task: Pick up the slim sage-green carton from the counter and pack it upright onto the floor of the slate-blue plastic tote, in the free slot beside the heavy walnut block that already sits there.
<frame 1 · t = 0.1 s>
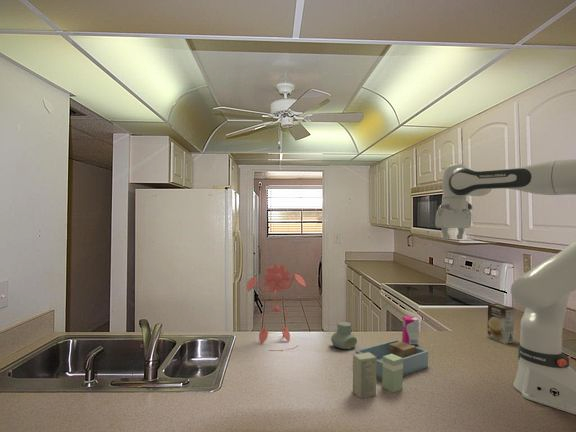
hand: (453, 239, 138), 48 cm above the counter, fingers open, 8 cm apart
skincare box: (364, 394, 109), on the counter
air freshener: (343, 347, 148), on the counter
figurine: (275, 344, 149), on the counter
supplement box: (410, 343, 154), on the counter
coffee box: (499, 340, 161), on the counter
tote: (391, 366, 129), on the counter
walnut block: (402, 360, 133), point 1 cm above the counter, touching tote
carton: (392, 387, 113), on the counter
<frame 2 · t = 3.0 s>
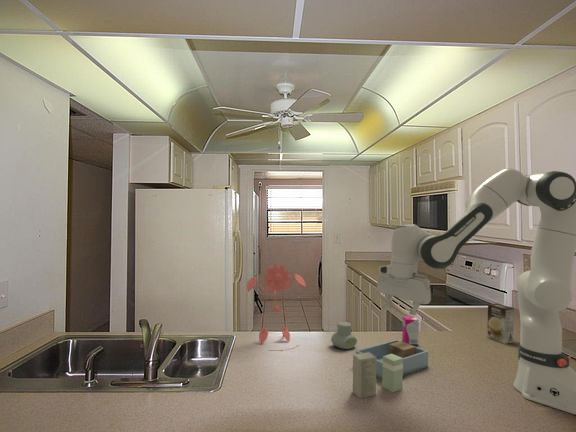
hand: (401, 310, 119), 24 cm above the counter, fingers open, 8 cm apart
nothing on the counter moved.
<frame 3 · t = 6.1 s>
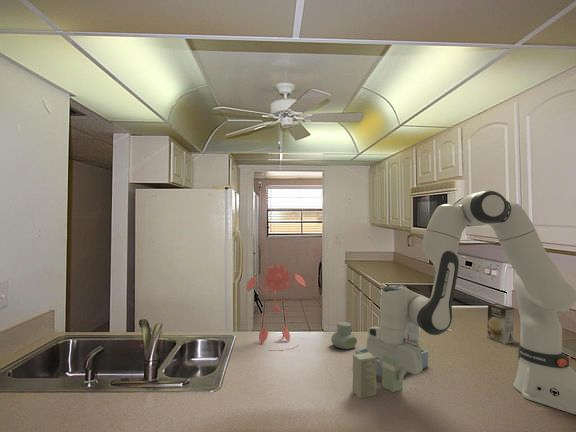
hand: (392, 376, 113), 4 cm above the counter, fingers closed on carton, 4 cm apart
carton: (392, 387, 113), on the counter, touching gripper
everything else where it was.
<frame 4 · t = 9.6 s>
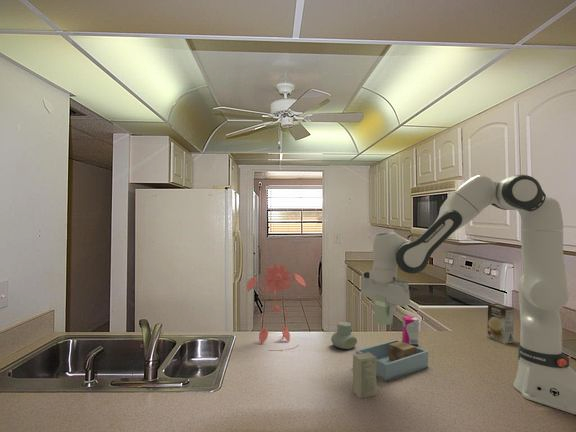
hand: (383, 313, 127), 21 cm above the counter, fingers closed on carton, 4 cm apart
carton: (383, 323, 127), point 17 cm above the counter, touching gripper
everything else where it was.
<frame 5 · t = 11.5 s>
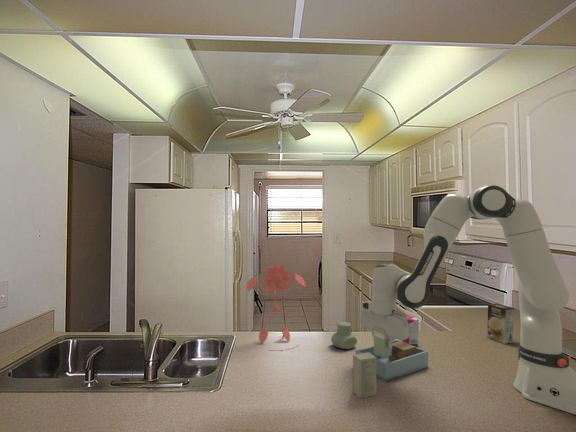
hand: (382, 344, 127), 9 cm above the counter, fingers closed on carton, 4 cm apart
carton: (382, 354, 127), point 5 cm above the counter, touching gripper
everything else where it was.
when the fingers open (6 cm above the counter, at t = 13.1 s): carton drops 1 cm, resting on tote.
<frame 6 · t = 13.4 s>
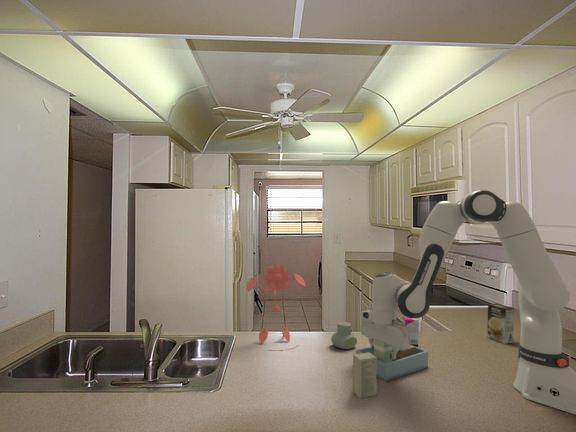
hand: (383, 354, 127), 6 cm above the counter, fingers open, 8 cm apart
carton: (382, 367, 127), point 1 cm above the counter, touching tote
everything else where it was.
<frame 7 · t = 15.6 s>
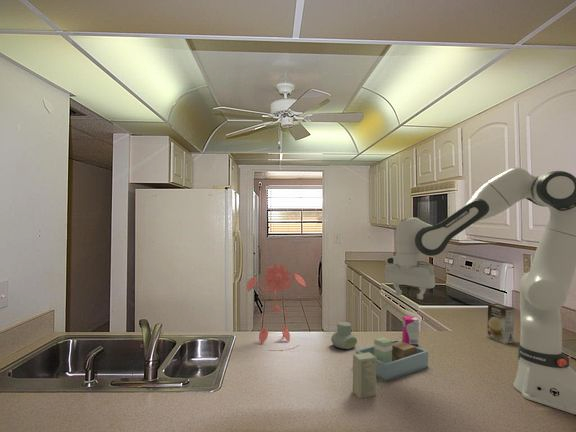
hand: (409, 296, 130), 26 cm above the counter, fingers open, 8 cm apart
nothing on the counter moved.
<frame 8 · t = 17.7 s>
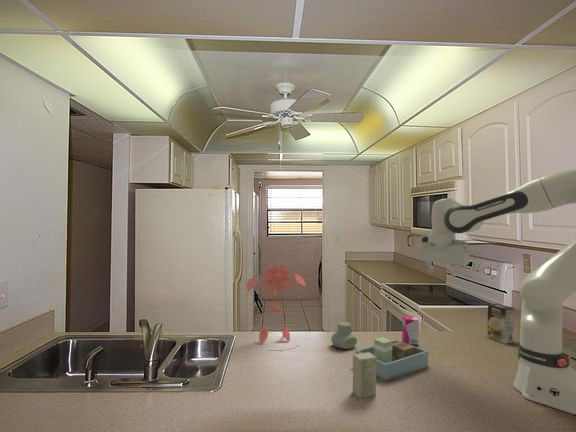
hand: (442, 274, 137), 34 cm above the counter, fingers open, 8 cm apart
nothing on the counter moved.
at the end: carton inside the target area on the tote (0.5 cm from its centre), point 0.8 cm above the tote's base; carton tilted 0°; walnut block moved 0.1 cm from its start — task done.
